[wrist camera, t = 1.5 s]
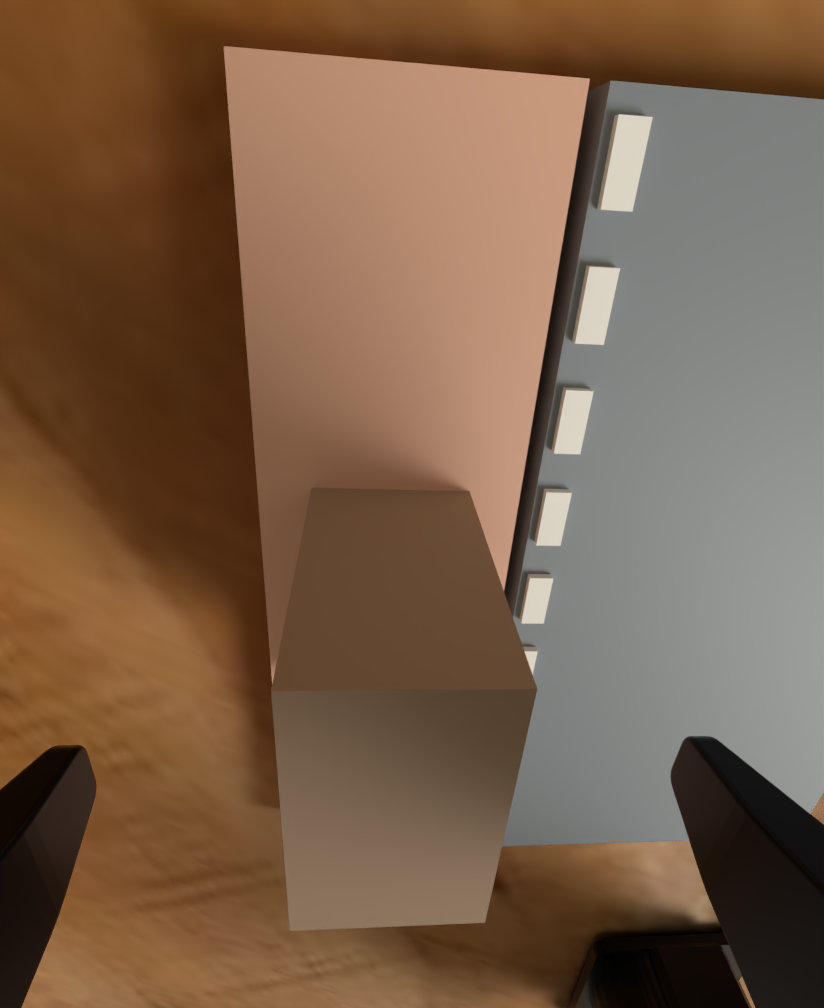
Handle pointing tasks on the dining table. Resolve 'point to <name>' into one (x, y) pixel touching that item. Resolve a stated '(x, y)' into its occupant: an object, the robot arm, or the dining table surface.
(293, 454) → the stub
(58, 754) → the robot arm
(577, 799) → the board
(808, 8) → the dining table surface
